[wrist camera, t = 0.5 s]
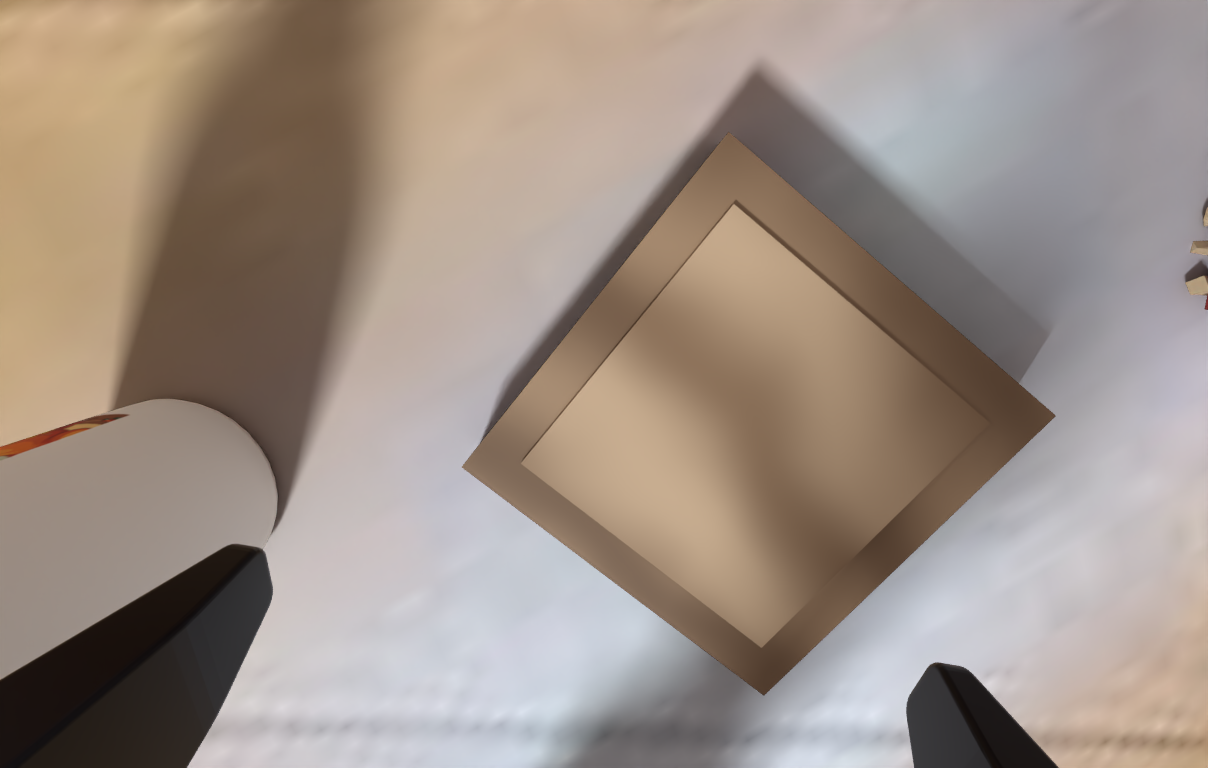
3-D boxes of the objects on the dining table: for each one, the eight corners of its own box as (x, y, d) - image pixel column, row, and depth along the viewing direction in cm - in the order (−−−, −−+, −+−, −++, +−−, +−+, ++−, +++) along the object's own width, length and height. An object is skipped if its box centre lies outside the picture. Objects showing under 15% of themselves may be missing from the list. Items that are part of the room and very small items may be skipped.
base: (752, 652, 26) (764, 698, 23) (479, 444, 24) (460, 468, 22) (1011, 397, 23) (1059, 417, 20) (718, 144, 22) (729, 131, 19)
